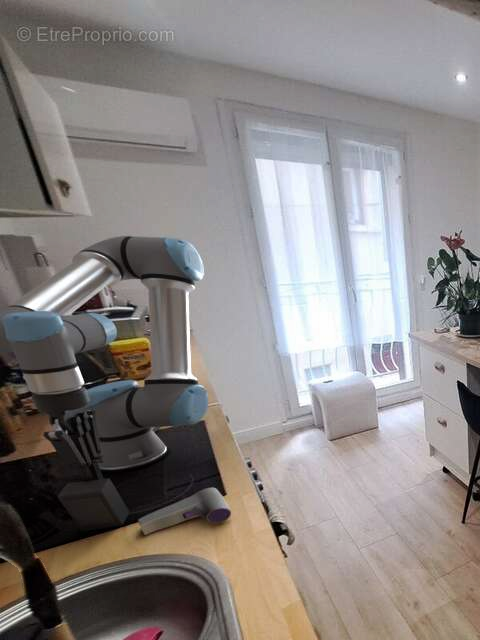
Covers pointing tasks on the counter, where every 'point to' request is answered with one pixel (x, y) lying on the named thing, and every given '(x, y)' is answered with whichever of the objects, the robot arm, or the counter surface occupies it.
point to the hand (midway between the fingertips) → (96, 488)
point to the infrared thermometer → (188, 511)
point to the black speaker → (94, 504)
